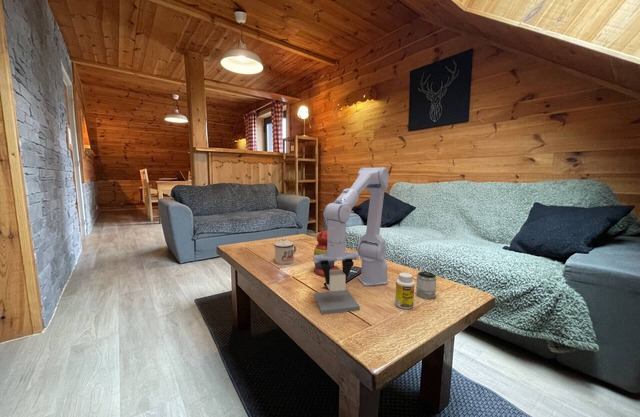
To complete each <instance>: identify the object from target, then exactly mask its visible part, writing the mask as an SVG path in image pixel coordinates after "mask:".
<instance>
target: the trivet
mask: <svg viewBox="0 0 640 417" xmlns="http://www.w3.org/2000/svg"><path fill="white" fill-rule="evenodd" d="M313 297H314V299H315V301H316V304H317V307H318V309H319V311H320V313H321V315H327V314H336V313H337V314H338V313H339V314H340V313H345V312H346V313H347V312H353V311H354V312H355V311H356V312H357V311H360V310H361V306H360V305H359V303H358V302H357V301H356V299H355V298H354V297H353V295H352V293H351V292H350V291H349V290H348V289H345V290H340V291H330V290H329V291H321V292H314V293H313Z"/></svg>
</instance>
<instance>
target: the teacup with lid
mask: <svg viewBox="0 0 640 417" xmlns="http://www.w3.org/2000/svg"><path fill="white" fill-rule="evenodd" d="M296 252H297V245H295V244H294V242H292V241H290V240H288V239H287V238H286V237H282V238H281V239H279V241H276V242H275V243H274V261H275V262H274V263H276V264H277V265H281V266H282V265H283V266H284V265H290V264H293V262H294V255H295V254H296Z"/></svg>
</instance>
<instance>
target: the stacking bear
mask: <svg viewBox="0 0 640 417" xmlns="http://www.w3.org/2000/svg"><path fill="white" fill-rule="evenodd" d="M327 231H328V229H326V230H321V231H320V232H318V233H317V235H316V240H317V244H316V245H315V247H314V251H313V255H320V254H325V253H327ZM335 262H336V261H328V263H329V265H330V270H338V269H340V267H339V266H337V265H335ZM313 263H314V262H313ZM313 272H314V273H315V275H318V276H320V277H324V278H325V275H324V272H323V269H322V267H321V264H320V262H318V263H314V269H313Z"/></svg>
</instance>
